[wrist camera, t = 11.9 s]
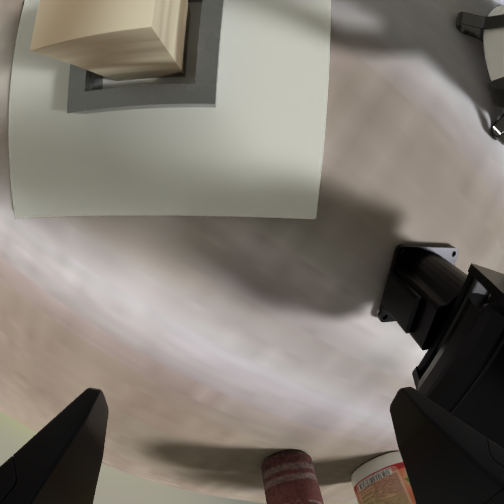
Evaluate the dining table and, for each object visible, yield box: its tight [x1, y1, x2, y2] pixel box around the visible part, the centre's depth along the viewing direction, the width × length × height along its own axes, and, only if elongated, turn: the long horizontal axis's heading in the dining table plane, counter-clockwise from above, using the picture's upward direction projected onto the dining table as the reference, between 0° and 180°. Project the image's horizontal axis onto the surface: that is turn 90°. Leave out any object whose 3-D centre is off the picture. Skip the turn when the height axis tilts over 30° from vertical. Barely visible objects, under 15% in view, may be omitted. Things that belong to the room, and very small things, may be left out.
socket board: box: [8, 0, 331, 219], centre depth 14 cm, size 20×20×1 cm
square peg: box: [30, 0, 191, 81], centre depth 9 cm, size 4×4×9 cm
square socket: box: [67, 0, 224, 114], centre depth 12 cm, size 8×8×2 cm
